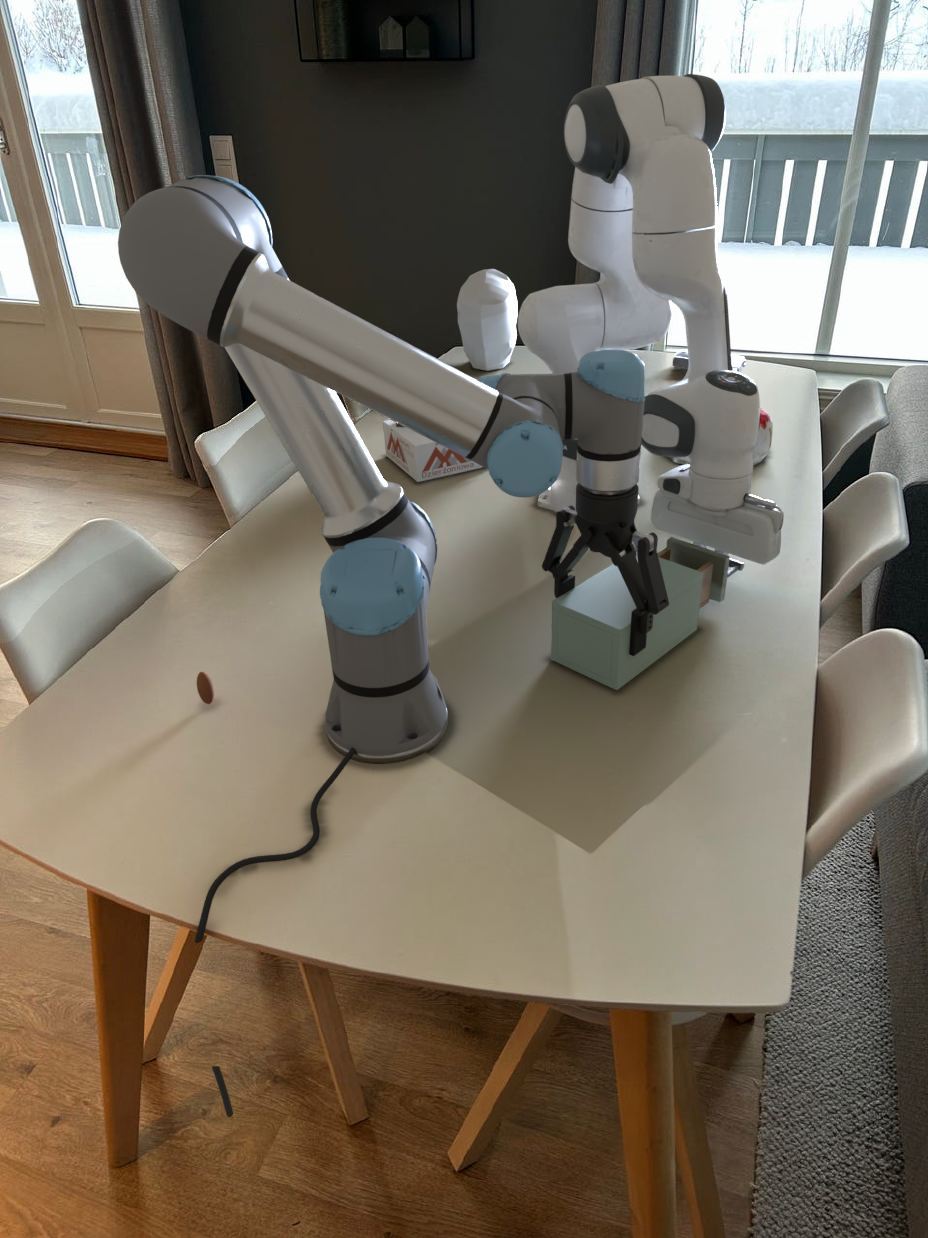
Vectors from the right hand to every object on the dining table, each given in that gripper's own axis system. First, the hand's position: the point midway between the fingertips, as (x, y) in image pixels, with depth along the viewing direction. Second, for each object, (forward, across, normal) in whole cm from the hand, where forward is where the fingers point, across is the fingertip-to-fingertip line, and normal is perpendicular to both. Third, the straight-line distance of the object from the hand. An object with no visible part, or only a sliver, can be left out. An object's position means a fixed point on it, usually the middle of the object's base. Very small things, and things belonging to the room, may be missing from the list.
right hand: (709, 569), depth 139 cm
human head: (+3, +108, -66) cm, 127 cm away
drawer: (+2, 0, +10) cm, 10 cm away
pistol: (+3, +57, -90) cm, 107 cm away
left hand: (-2, 0, +28) cm, 28 cm away
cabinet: (+3, 0, +22) cm, 22 cm away
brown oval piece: (+3, +32, +69) cm, 76 cm away
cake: (+3, +29, -51) cm, 59 cm away
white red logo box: (+3, +70, -10) cm, 70 cm away
